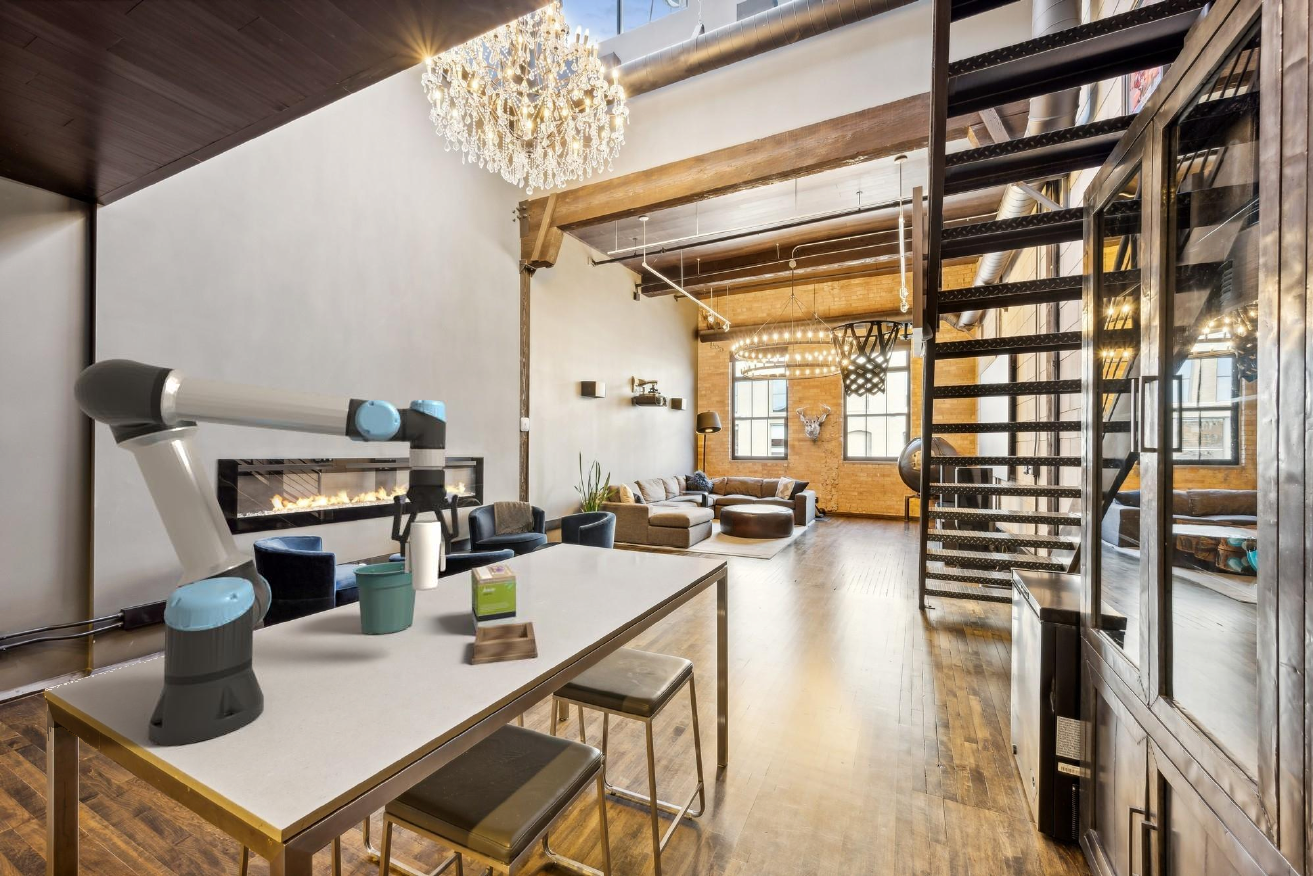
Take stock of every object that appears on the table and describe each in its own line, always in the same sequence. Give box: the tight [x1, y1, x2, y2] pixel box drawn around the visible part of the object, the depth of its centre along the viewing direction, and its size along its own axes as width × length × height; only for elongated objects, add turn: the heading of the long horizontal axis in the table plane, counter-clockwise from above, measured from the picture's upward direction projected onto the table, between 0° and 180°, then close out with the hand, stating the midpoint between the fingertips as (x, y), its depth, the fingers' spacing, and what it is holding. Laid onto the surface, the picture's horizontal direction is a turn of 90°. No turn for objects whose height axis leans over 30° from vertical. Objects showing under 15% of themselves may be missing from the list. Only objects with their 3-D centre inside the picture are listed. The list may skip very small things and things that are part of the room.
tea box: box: [470, 564, 517, 631], centre depth 143 cm, size 15×10×15 cm, turn 25°
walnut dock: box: [471, 621, 539, 666], centre depth 124 cm, size 14×14×4 cm
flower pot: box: [352, 561, 417, 635], centre depth 142 cm, size 16×16×16 cm
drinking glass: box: [409, 519, 443, 592], centre depth 120 cm, size 7×7×15 cm
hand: (425, 570), depth 120 cm, fingers closed on drinking glass, 7 cm apart
